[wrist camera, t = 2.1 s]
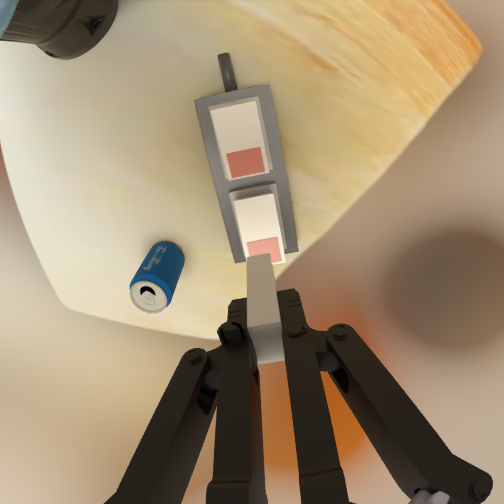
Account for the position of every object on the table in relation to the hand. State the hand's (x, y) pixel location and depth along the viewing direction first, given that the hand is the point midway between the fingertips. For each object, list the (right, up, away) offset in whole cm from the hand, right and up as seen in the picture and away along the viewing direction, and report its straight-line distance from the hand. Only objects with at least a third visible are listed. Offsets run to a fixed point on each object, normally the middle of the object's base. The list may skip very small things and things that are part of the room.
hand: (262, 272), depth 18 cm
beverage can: (-15, +1, +29) cm, 33 cm away
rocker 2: (0, +4, +19) cm, 19 cm away
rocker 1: (-2, +15, +13) cm, 20 cm away
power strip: (-2, +16, +21) cm, 26 cm away
